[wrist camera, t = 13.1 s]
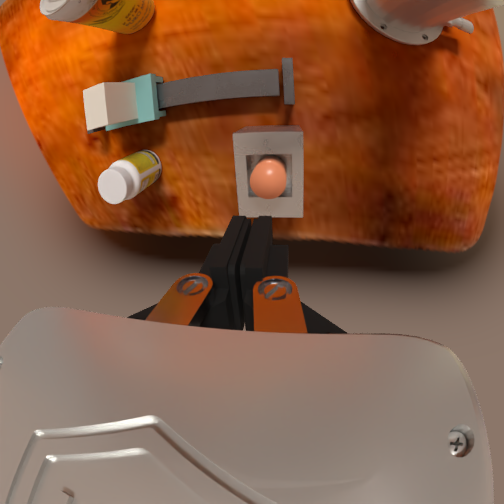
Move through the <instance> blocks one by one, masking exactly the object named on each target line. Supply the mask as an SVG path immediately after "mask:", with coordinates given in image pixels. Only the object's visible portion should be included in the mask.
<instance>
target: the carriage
mask: <svg viewBox="0 0 504 504" xmlns="http://www.w3.org/2000/svg"><path fill="white" fill-rule="evenodd" d="M162 82H163V77H158V76H156V75H155V74H147V75H143V76H140V77H136V78H133V79H130V80H126V81H123V82H103V83H101V84H98V85H95V86H93V87H90V88H88V89H86V90H83V96H84V106H85V115H86V123H87V131H88V130H92V129H95V128H99V127H103V126H106V131H108V130H112V129H116V128H120V127H124V126H128V125H133V124H137V123H142V122H146V121H151V120H157V119H159V117H162V116H166V110H165V111H159V110H158V99H157V88H156V84H158V83H162Z"/></svg>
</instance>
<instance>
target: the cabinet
mask: <svg viewBox="0 0 504 504" xmlns="http://www.w3.org/2000/svg"><path fill="white" fill-rule="evenodd" d="M233 144H234V157H235V170H236V182H237V195H238V207H239V216H246V217H259V216H272V217H302V218H303V131H302V129H301V128H300V126H299V125H280V126H248V127H244V128H242V129H240V130H239V131H237V132H235V133H233ZM265 156H276V157H278V158H280V159H281V160H282V161H283V162H284V164H285V166H286V170H287V174H286V187H285V190H284V191H283V193H282V194H281V195H280V196H278V197H276V198H274V199H264V198H261V197H259V196H257V195H256V194H255V193H254V192H253V190H252V189H251V186H250V177H251V174H252V172H253V170H254V168H255V166H256V164H257V163H258V161H259V160H260V159H261V158H263V157H265Z"/></svg>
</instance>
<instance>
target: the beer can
mask: <svg viewBox="0 0 504 504" xmlns="http://www.w3.org/2000/svg"><path fill="white" fill-rule="evenodd" d="M154 10H155V5H154V2H153V0H41V2H40V11H41V13H42V14H44V15H45V16H46V17H47V18H48V19H51V20H58V21H65V22H71V23H77V24H83V25H88V26H93V27H97V28H102V29H106V30H110V31H114V32H118V33H121V34H132V33H135V32H137V31H139V30H140V29H142V28H143V27H144V26H145V25H146V24H147V23H148V22H149V21H150V20H151V18H152V16H153V14H154Z"/></svg>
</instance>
